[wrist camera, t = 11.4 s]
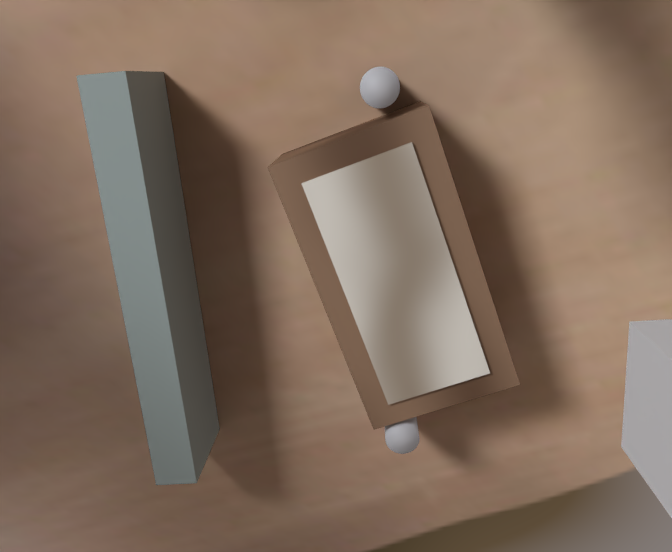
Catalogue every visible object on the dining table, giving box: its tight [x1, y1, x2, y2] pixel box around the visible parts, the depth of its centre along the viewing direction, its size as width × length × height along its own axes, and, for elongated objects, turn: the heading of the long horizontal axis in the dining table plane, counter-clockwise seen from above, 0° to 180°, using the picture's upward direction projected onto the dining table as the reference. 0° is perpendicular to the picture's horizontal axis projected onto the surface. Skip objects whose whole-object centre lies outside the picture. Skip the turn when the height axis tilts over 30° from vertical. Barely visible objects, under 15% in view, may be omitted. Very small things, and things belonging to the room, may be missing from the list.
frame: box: [268, 101, 520, 429], centre depth 30 cm, size 7×13×5 cm, turn 21°
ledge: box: [77, 67, 419, 485], centre depth 30 cm, size 13×19×5 cm
